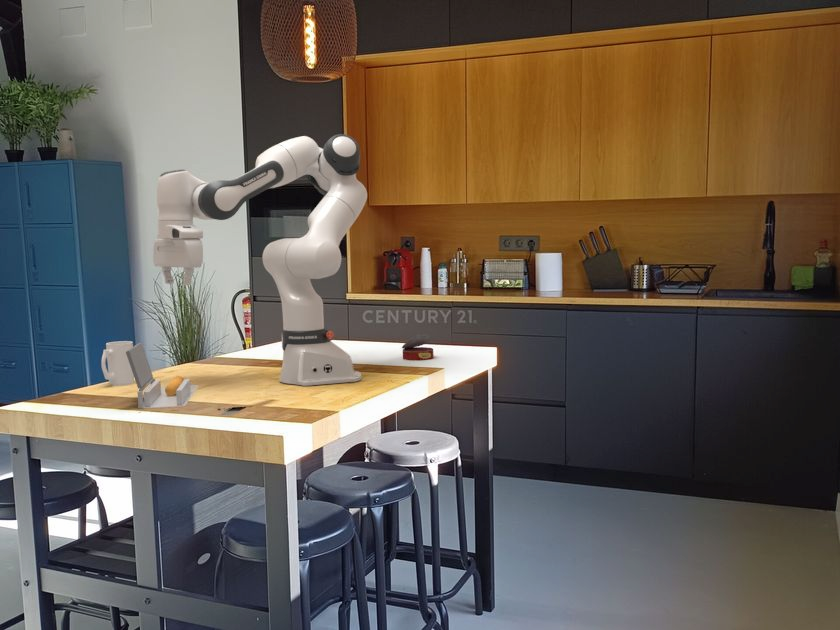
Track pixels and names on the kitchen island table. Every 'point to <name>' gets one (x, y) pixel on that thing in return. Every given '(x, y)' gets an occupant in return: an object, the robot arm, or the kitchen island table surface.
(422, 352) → the canned food
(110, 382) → the mug
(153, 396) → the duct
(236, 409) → the knife
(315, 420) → the kitchen island table surface
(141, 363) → the lid
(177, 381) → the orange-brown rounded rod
